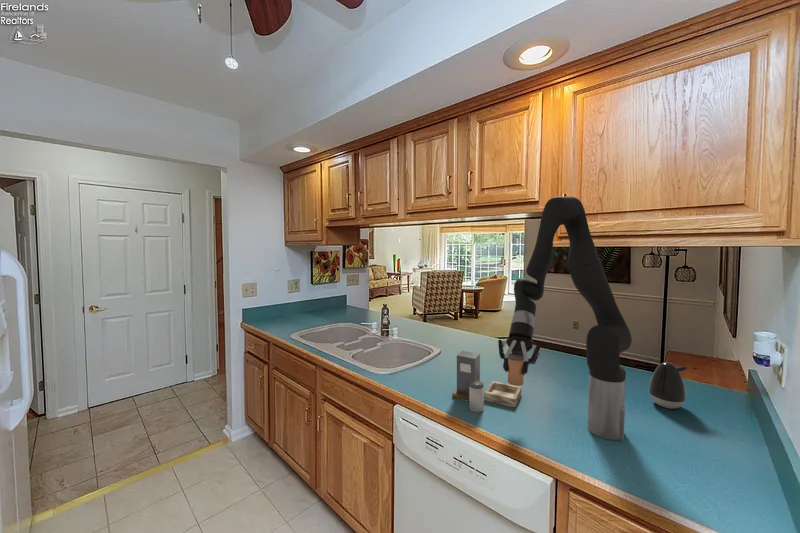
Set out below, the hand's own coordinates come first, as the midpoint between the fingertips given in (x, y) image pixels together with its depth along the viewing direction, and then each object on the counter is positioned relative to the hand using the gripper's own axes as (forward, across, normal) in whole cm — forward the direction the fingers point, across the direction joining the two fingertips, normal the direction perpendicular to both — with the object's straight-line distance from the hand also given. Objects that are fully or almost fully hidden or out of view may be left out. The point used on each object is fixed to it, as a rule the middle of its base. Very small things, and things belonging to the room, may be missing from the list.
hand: (514, 372), depth 105 cm
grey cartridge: (+11, -13, +12) cm, 21 cm away
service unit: (+4, -19, +19) cm, 27 cm away
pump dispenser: (-14, +44, +37) cm, 59 cm away
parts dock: (+1, -7, +21) cm, 22 cm away
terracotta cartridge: (+2, 0, +4) cm, 5 cm away
